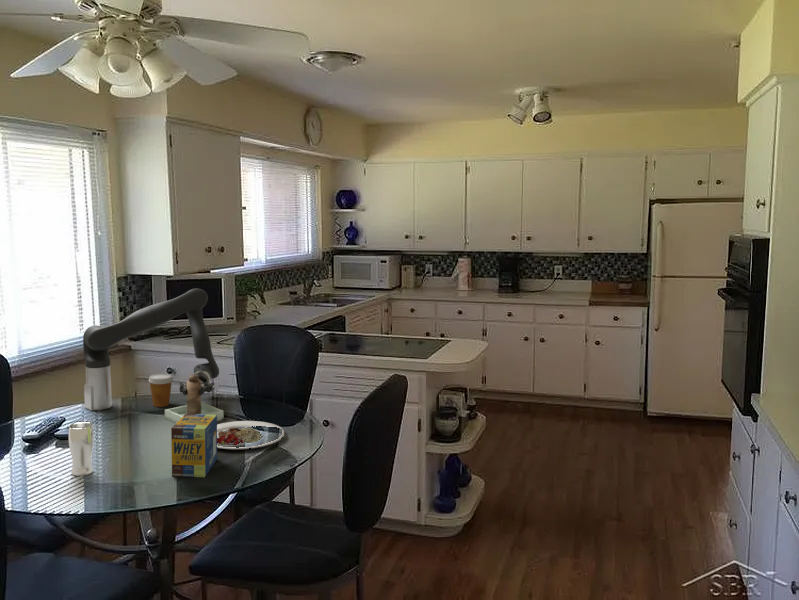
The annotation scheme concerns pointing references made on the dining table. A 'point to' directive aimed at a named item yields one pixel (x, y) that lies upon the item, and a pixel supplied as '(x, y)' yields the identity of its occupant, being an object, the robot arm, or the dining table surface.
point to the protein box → (194, 445)
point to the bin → (179, 412)
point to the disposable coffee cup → (160, 389)
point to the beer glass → (81, 447)
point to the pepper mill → (193, 395)
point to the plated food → (242, 433)
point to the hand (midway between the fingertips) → (192, 392)
